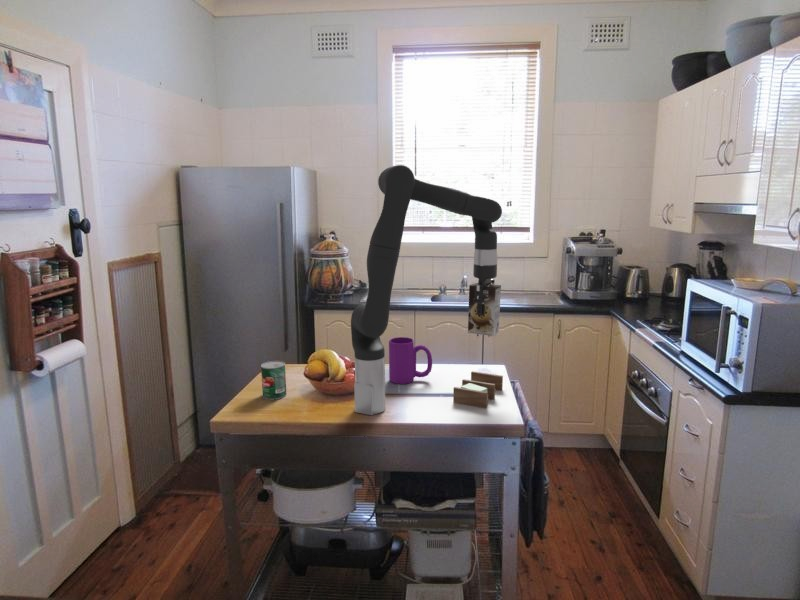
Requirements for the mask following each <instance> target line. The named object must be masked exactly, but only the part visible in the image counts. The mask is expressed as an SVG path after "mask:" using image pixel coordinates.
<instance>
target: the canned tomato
mask: <svg viewBox="0 0 800 600" xmlns="http://www.w3.org/2000/svg"><path fill="white" fill-rule="evenodd" d="M260 369H261V370H260V373H261V389H262V398H263V399H264V398H265V400H267V399H270V400H269V401H273V400H274V399H276V400H280V398H281V399H283V398H285V397H286V396H287V378H286V362H285V361H281V360H271V361H265V362H262V363H261V365H260ZM274 401H275V400H274Z"/></svg>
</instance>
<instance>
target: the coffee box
mask: <svg viewBox="0 0 800 600" xmlns="http://www.w3.org/2000/svg"><path fill="white" fill-rule="evenodd" d="M477 284H478V282H475V283H471V284H469V285H468V287H469V288H468V317H467V318H468V319H467V320H468V321H467V323H468V324H467V334H474V335H480V336H481V335H482V336H487V337H488V336H490V337H494V336H496V335H497V334H499V333H500V316H501V315H500V312H501V311H500V310H501V294H502V293H501V290H502V285H501V284H494V285H490V286H486V287H485V290H483V294H485V293H487V296H486V297H485V306H484V315H483V316H480V315H477V303H475V294H474V286H475V285H477ZM479 299H480V297H479Z"/></svg>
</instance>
